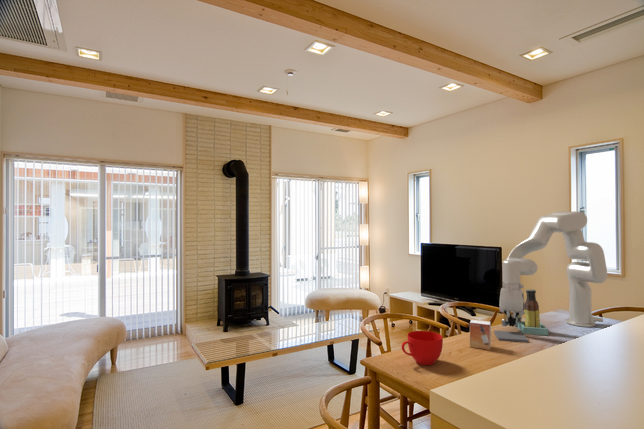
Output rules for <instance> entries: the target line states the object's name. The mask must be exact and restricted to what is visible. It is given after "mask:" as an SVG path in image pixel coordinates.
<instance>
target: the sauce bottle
mask: <svg viewBox="0 0 644 429" xmlns="http://www.w3.org/2000/svg"><path fill="white" fill-rule="evenodd" d="M525 293H526V300H525V301H524V303H525V309H524V312H525V314H524V322H525V327H533V328H540V322H541V320H540V309H539V308H540V307H539V302H538V301H537V299H536V293H537V292H536V289H534V288H533V289H529V288H527V289H526V290H525Z"/></svg>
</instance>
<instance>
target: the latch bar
mask: <svg viewBox="0 0 644 429" xmlns="http://www.w3.org/2000/svg"><path fill="white" fill-rule="evenodd" d="M522 319H523V315H518V316H517V317H516V321H517V320H521V321H522ZM501 325H502V327H507V326H509V324H508V318H506V319H505V318H502V319H501Z"/></svg>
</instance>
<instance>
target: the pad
mask: <svg viewBox="0 0 644 429" xmlns="http://www.w3.org/2000/svg"><path fill="white" fill-rule="evenodd" d="M493 333H494V334H495V337H496V338H497V339H498V341H502V342H514V343H515V342H517V343H529V338H527V336H526V334H523V333H522V332H521V331H508V330H507V331H506V330H494V332H493Z"/></svg>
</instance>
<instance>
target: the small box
mask: <svg viewBox="0 0 644 429" xmlns="http://www.w3.org/2000/svg"><path fill="white" fill-rule="evenodd" d="M491 324H492V323H491V321H486V320H485V321H484V320H475V319H470V322H469V347H470V348H475V349H483V350H486V351H490V349H491V345H492V339H491V338H492V337H491V335H492V330H491V329H492V328H491V327H492V325H491Z"/></svg>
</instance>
